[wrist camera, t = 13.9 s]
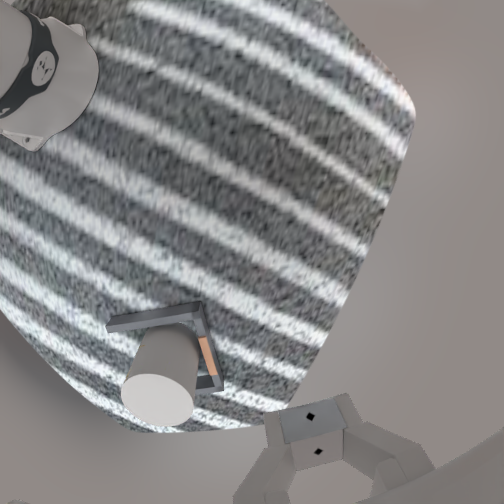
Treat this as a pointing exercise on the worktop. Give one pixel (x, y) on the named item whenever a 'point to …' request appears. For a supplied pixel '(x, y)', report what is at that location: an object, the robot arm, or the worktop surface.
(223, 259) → the worktop surface
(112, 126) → the worktop surface
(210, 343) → the bracket
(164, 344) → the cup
